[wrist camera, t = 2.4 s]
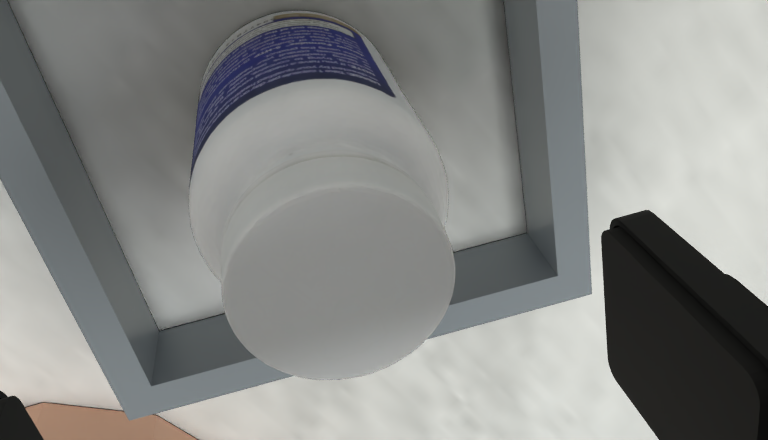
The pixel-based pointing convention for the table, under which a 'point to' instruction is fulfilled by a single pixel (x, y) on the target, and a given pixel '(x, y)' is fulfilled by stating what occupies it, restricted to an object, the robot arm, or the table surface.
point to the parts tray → (214, 335)
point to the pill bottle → (318, 200)
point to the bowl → (99, 424)
